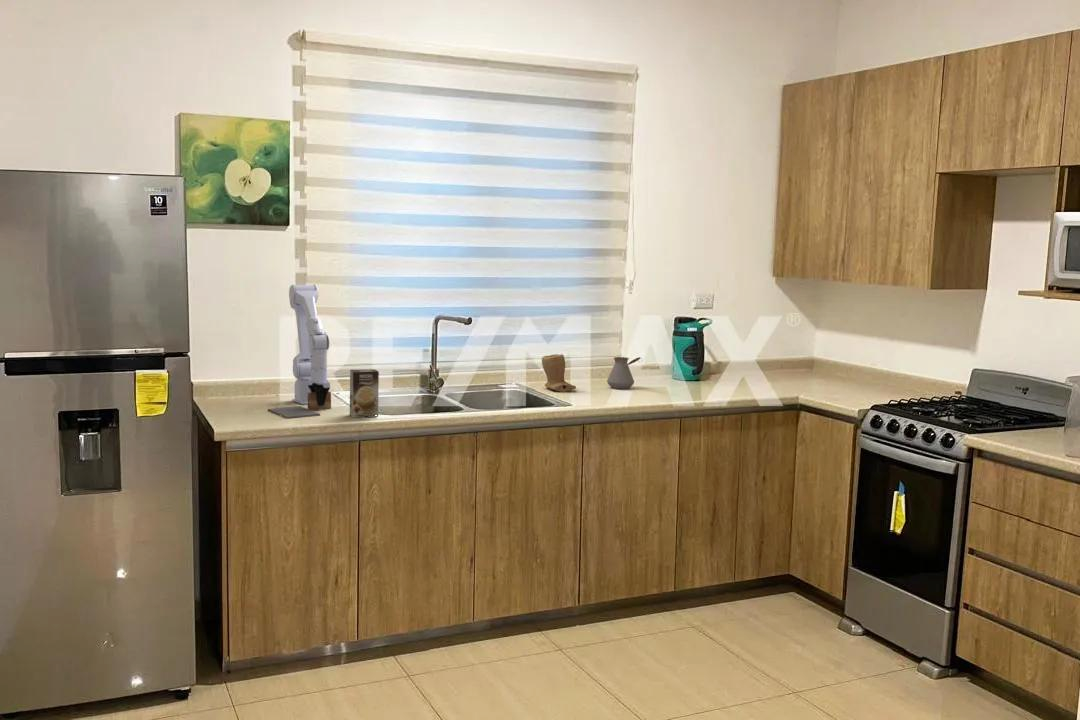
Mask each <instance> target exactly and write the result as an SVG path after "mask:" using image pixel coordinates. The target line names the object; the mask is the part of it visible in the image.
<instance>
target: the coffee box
mask: <svg viewBox="0 0 1080 720" xmlns="http://www.w3.org/2000/svg"><path fill="white" fill-rule="evenodd" d="M349 372H350V373H349V415H350V416H351V417H352V418H365V417H364V416H375V415H377V417H379V389H380V388H379V386H380V385H379V382H380V381H379V378H380V372H379V370H377V369H372V368H371V369H367V368H366V369H350V370H349Z"/></svg>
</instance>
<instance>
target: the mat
mask: <svg viewBox="0 0 1080 720" xmlns="http://www.w3.org/2000/svg"><path fill="white" fill-rule="evenodd" d="M267 411H268V412H270V411H271V412H270V413H273V414H275V413H276V414H275V415H278V416H280V415H281V417H282V416H283V418H285V419H287V418H289V419H296V418H307V417H318V416H321V413H319V412H317V411H315V410H309V409H308V407H304V406H301V405H295V406H285V407H284V406H283V407H272V408H267Z"/></svg>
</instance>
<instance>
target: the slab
mask: <svg viewBox="0 0 1080 720" xmlns="http://www.w3.org/2000/svg"><path fill="white" fill-rule="evenodd" d="M307 401H308V404H307V409H309V410H312V411H318V410H319V411H320V410H326V409H327V410H328V409H332V392H331V391H330V390H329V391H328V393H327V396H326V400H325V404H324V406H318V403H317V396H316V392H312V393H307Z"/></svg>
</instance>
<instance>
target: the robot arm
mask: <svg viewBox="0 0 1080 720" xmlns="http://www.w3.org/2000/svg"><path fill="white" fill-rule="evenodd" d="M319 295H320V293H319V287H318V286H317V285H316V283H315V284H291V285H290V286H289V289H288V297H289V306H290V308H291V309H293V310H294V313H295V319H296V327H297V328H296V329H297V339H298V348H299V349H298V350H299V353H297V355H296V356H294V357H293V359H292V374H293V377H294V378H295V381H294V386H293V387H294V398H292V401H293V402H296V403H298V404H301V405H306V404H307V405H308V401H307V393H312V392H316V396H317V403H318V406H324V404H325V400H326V396H327V393H328V391H329V392H330V389H331V382H330V381H329V379H328V352H327V351H329V348H330V339H329V335H328V334H327V332H326V331H325V330H324V325H323V323H322V320H321V319H322V318H321V319H320V318H319V317H318V312H317V306H316V304H317V303H318V298H319Z"/></svg>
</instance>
